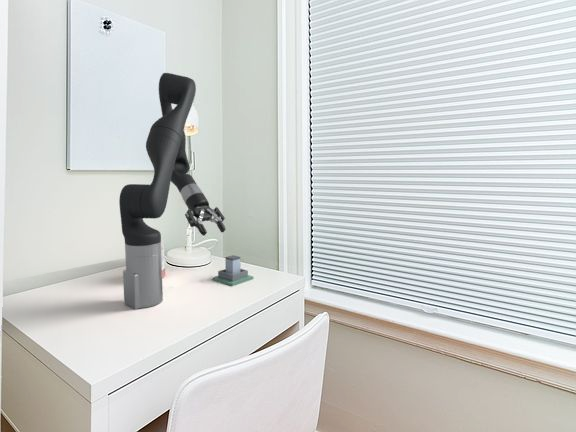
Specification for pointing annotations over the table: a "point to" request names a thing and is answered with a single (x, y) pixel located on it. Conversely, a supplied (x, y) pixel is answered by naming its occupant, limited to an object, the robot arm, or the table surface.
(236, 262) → the block
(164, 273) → the ink cartridge box
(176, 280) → the table surface
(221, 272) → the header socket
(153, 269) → the robot arm
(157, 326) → the table surface
